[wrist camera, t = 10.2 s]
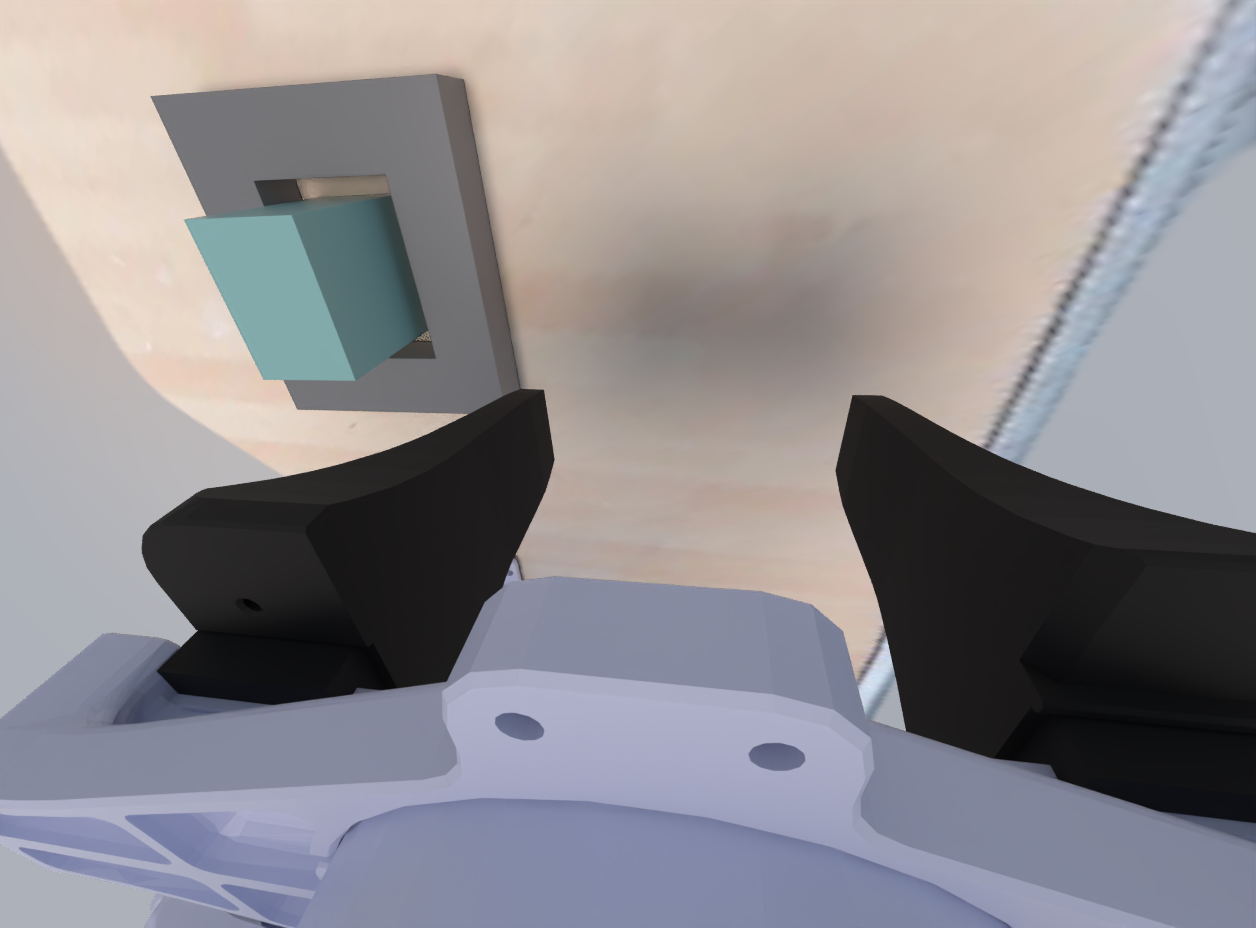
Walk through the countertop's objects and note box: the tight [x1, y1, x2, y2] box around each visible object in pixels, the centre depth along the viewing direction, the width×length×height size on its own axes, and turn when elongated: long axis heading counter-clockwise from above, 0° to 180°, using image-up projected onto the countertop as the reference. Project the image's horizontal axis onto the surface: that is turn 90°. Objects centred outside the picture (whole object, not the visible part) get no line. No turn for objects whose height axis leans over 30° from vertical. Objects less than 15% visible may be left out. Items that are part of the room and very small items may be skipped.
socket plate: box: [151, 74, 520, 414], centre depth 19 cm, size 12×10×2 cm
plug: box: [184, 194, 428, 381], centre depth 18 cm, size 5×4×6 cm
